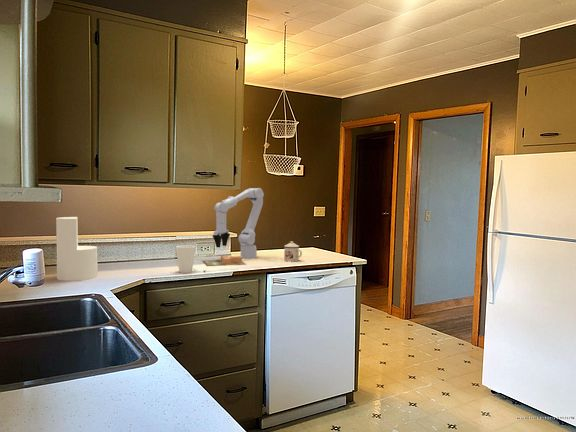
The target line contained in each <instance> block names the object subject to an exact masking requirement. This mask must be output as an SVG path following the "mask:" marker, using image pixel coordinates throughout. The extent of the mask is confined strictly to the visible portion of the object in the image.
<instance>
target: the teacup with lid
mask: <svg viewBox="0 0 576 432" xmlns="http://www.w3.org/2000/svg"><path fill="white" fill-rule="evenodd" d="M283 247H284V255H283V256H284V258H283V259H284V262H288V261H296V262H299V261H300V260H299V259H300V258H301V257H302V255H303V251H302V250H301V249H300V245H298V244H296V243H294V241H289V242H288V243H287V244H285V245H284V246H283Z"/></svg>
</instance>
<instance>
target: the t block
mask: <svg viewBox="0 0 576 432" xmlns="http://www.w3.org/2000/svg"><path fill="white" fill-rule="evenodd" d="M220 260H221V262H223V263H224V264H231V263H238V262H243V258H242V257H241V255H238V256H236V255H235V256H228V255H220Z"/></svg>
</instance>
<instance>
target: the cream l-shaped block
mask: <svg viewBox="0 0 576 432" xmlns="http://www.w3.org/2000/svg"><path fill="white" fill-rule="evenodd" d="M55 220H56V221H55V223H56V225H55V227H56V229H55V230H56V238H55V239H56V279H57V280H59V281H63V282H64V281H66V282H67V281H68V282H70V281H71V282H72V281H74V282H75V281H85V280H92V279H96V278H97V277H98V274H99V273H98V271H99V270H98V246H96V245H79V232H78V231H79V229H78V226H79V225H78V224H79V223H78V221H79V220H78V216H62V217H61V216H60V217H56V218H55Z"/></svg>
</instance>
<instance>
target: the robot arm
mask: <svg viewBox="0 0 576 432" xmlns="http://www.w3.org/2000/svg"><path fill="white" fill-rule="evenodd" d="M264 196H265V193H264V191H263V189H262V188H261V187H257V188H256V187H253V188H252V187H249V188H247V189H244V190H243V191H242V192H240V193H239V194H237V195H236V196H231V195H229V196H227V198H225V199H223V200H221V202H217V203H216V204H215V205H214V207H213V209H214V211H215V215H216V218H215V219H216V223H215V225H216V230H214V231H213V234H212V238H213V240H214V243H215V247H216V248H221V244H222V246H223V247H227V245H228V241H229V237H230V236H231V233H229V232H230V230H229V229H227V212H228V211H229V209H232V208H233V207H236V206H237V204H238V202H241V201H242V200H245V199H246V198H248V199H249V200H250V201H251V202H252V208H251V211H250V213H249V217H248V219H247V222H246V225H245V228H244V229H242V230H241V233H240V234H239V235H238V242H239V243H240V256H241V257H242V260H243V259H245V260H248V259H257V252H258V251H257V246H256V244H255V242H256V232H255V229H256V226H257V222H258V220H259V217H260V214H261V211H262V208H263V205H264ZM221 242H222V243H221Z"/></svg>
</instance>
